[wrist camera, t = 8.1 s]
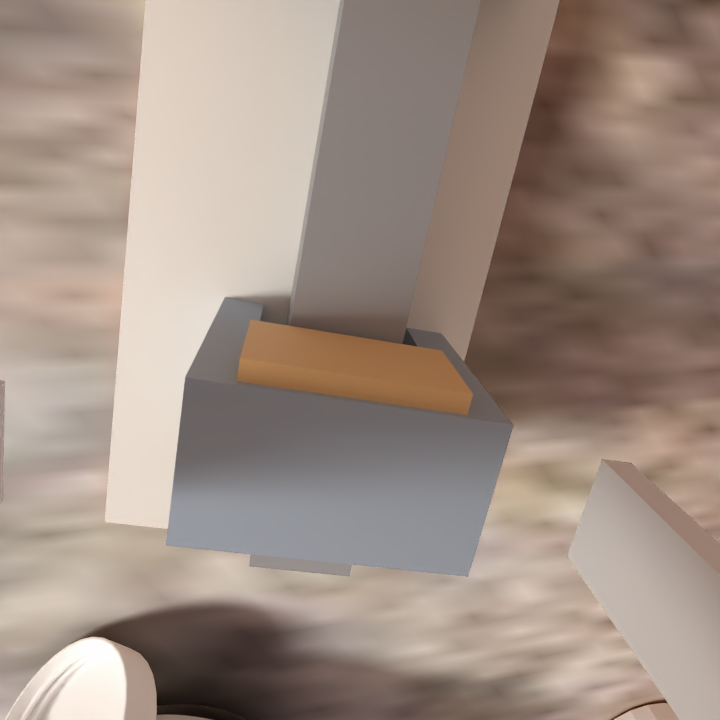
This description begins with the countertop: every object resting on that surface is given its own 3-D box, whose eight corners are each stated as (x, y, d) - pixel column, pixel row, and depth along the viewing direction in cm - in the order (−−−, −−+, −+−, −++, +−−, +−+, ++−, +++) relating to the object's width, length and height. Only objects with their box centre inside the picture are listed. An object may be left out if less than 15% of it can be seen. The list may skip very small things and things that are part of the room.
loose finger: (209, 414, 20) (166, 545, 13) (226, 281, 19) (188, 353, 12) (414, 442, 21) (467, 576, 14) (445, 318, 20) (519, 404, 13)
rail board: (109, 513, 21) (68, 591, 18) (195, -556, 13) (154, -840, 9) (410, 546, 23) (432, 624, 19) (653, -382, 15) (775, -564, 11)
